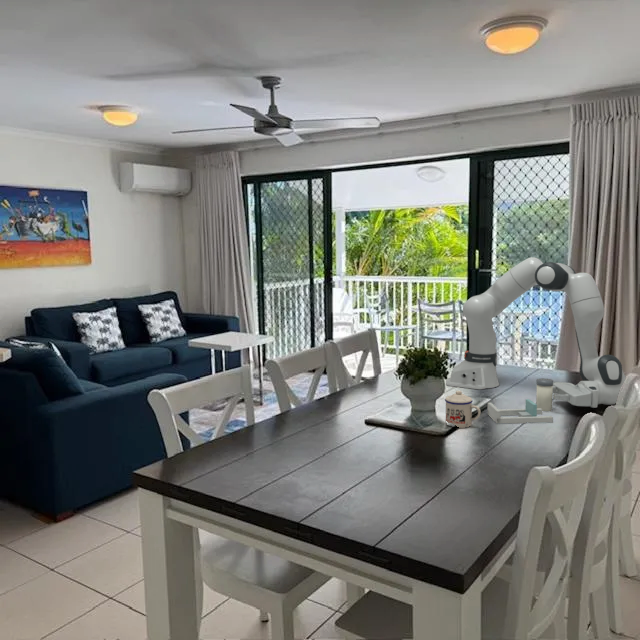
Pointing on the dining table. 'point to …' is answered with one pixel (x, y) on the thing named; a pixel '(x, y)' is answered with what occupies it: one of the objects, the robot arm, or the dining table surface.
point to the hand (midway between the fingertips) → (548, 393)
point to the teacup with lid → (460, 410)
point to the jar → (544, 394)
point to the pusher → (529, 409)
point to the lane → (497, 413)
